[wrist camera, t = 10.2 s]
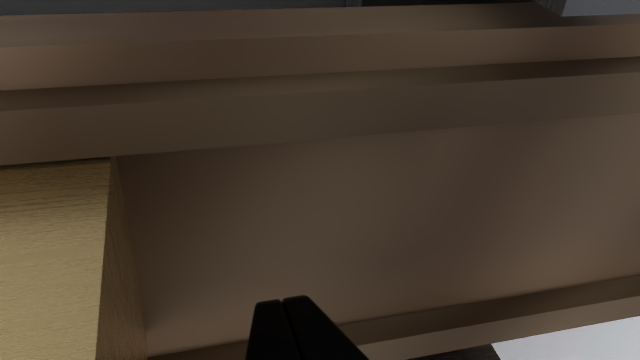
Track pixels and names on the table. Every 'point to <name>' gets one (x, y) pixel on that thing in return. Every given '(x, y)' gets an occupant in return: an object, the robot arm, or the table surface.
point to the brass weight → (67, 264)
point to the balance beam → (350, 164)
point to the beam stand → (562, 3)
